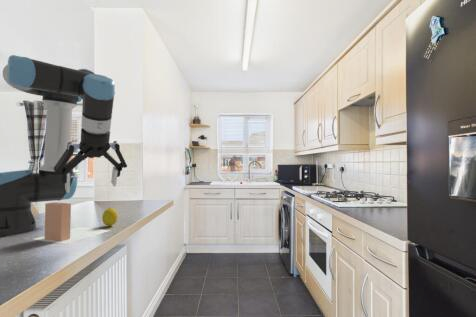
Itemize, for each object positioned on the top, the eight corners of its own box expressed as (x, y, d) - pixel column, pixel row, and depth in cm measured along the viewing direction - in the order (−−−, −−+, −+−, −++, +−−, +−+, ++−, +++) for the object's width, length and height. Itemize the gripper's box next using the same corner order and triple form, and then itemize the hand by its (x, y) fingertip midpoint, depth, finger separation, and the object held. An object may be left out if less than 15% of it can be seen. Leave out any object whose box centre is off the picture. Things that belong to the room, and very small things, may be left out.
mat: (31, 239, 86) (31, 239, 86) (80, 227, 102) (80, 227, 102) (65, 245, 80) (65, 244, 80) (111, 231, 97) (111, 230, 97)
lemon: (113, 228, 101) (113, 208, 101) (99, 228, 101) (99, 208, 101) (119, 225, 106) (120, 206, 107) (106, 225, 107) (107, 206, 107)
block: (44, 239, 86) (45, 203, 86) (54, 236, 89) (55, 202, 89) (61, 241, 83) (61, 204, 83) (71, 238, 86) (71, 203, 86)
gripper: (45, 135, 64) (46, 201, 73) (142, 134, 81) (133, 187, 90) (41, 122, 68) (42, 186, 77) (133, 124, 86) (126, 176, 94)
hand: (91, 187), depth 84 cm, fingers open, 13 cm apart
